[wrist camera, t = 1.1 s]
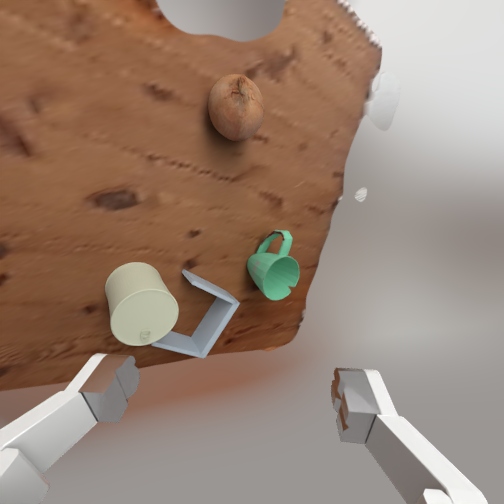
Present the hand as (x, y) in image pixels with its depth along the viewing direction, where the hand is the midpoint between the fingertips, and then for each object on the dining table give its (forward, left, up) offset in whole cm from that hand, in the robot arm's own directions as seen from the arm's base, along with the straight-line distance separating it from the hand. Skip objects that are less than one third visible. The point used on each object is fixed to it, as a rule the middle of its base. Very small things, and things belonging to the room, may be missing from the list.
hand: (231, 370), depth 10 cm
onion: (+4, +25, -38) cm, 45 cm away
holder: (+20, -10, -37) cm, 44 cm away
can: (+8, -10, -38) cm, 40 cm away
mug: (+28, +8, -38) cm, 48 cm away
